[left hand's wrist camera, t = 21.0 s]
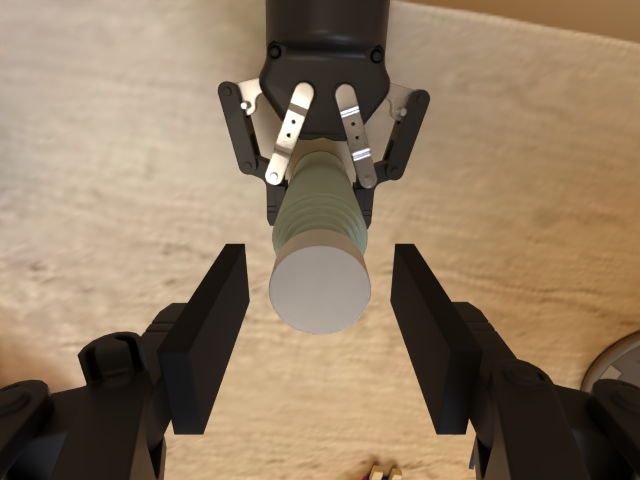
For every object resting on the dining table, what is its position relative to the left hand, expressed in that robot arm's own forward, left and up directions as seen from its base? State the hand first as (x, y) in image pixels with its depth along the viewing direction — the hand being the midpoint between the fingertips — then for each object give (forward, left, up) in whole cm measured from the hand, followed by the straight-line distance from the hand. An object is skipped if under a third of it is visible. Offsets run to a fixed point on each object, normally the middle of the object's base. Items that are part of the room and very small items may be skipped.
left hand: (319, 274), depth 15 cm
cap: (0, 0, +1) cm, 1 cm away
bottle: (0, 0, -19) cm, 19 cm away
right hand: (-1, +2, -12) cm, 12 cm away
